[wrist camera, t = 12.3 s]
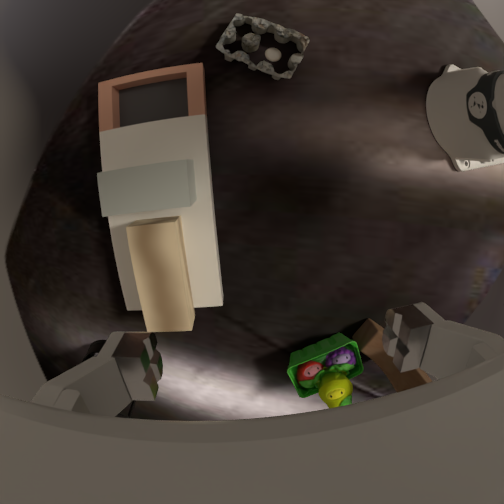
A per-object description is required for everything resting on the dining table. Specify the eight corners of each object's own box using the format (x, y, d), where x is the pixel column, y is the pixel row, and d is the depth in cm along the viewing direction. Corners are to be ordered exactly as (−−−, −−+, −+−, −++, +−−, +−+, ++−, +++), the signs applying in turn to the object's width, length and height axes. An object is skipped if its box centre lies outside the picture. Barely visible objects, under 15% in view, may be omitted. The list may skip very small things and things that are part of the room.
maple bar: (180, 215, 36) (174, 221, 32) (195, 315, 40) (191, 330, 37) (136, 220, 36) (125, 227, 32) (154, 317, 40) (147, 332, 36)
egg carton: (307, 48, 33) (315, 38, 30) (283, 89, 35) (289, 81, 31) (238, 17, 31) (239, 4, 28) (212, 56, 33) (210, 46, 29)
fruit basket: (345, 322, 46) (371, 364, 35) (356, 359, 49) (379, 401, 38) (280, 349, 47) (292, 397, 36) (297, 384, 49) (310, 430, 39)
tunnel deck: (204, 69, 34) (197, 47, 25) (223, 296, 43) (221, 326, 35) (106, 87, 33) (80, 73, 25) (133, 301, 43) (115, 329, 35)
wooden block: (350, 336, 47) (394, 410, 30) (367, 316, 46) (420, 385, 29) (381, 355, 49) (425, 422, 32) (397, 337, 48) (448, 400, 31)
